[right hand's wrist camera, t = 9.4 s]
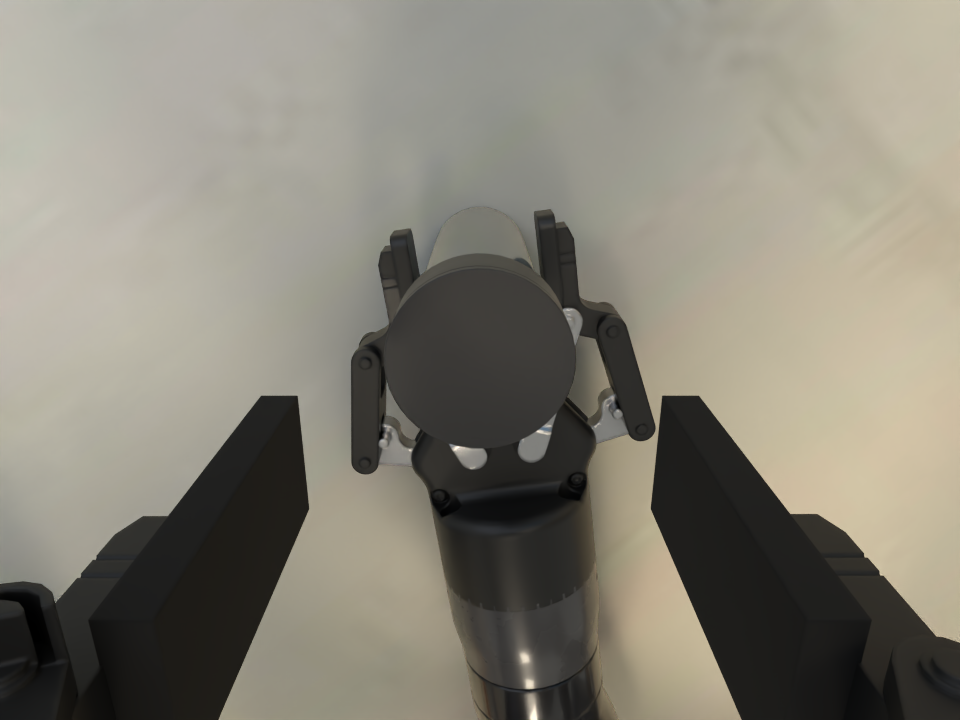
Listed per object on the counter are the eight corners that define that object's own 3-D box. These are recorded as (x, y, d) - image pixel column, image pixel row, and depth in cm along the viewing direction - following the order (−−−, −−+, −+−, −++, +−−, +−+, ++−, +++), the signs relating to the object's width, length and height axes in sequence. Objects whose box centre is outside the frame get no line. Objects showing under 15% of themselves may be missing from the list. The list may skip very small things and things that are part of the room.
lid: (385, 256, 21) (374, 272, 19) (567, 249, 21) (577, 265, 18) (400, 420, 23) (391, 452, 20) (566, 414, 22) (575, 445, 20)
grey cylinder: (431, 208, 34) (394, 283, 19) (524, 204, 34) (559, 277, 19) (437, 298, 36) (406, 432, 21) (525, 295, 36) (559, 426, 21)
